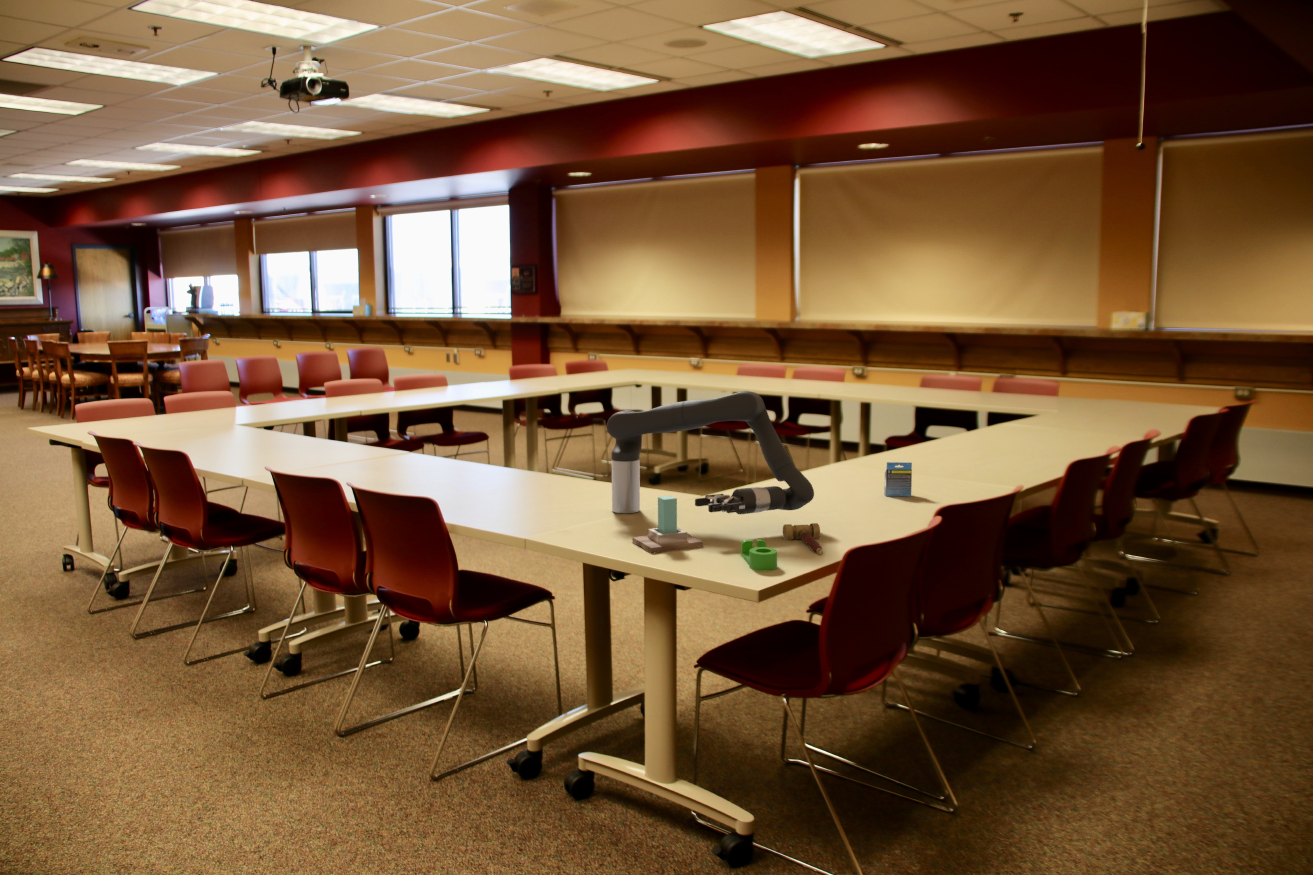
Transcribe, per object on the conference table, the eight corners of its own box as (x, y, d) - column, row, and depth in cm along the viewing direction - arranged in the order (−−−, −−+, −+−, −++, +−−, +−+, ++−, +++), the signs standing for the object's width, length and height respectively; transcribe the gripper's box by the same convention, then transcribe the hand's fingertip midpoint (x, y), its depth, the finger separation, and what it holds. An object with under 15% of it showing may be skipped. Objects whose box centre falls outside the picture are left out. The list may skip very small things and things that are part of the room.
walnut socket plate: (632, 542, 258) (632, 528, 258) (682, 536, 265) (682, 522, 264) (651, 553, 246) (651, 538, 246) (703, 546, 253) (703, 532, 252)
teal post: (658, 538, 256) (657, 497, 255) (670, 536, 258) (670, 495, 256) (664, 541, 253) (663, 499, 251) (676, 539, 254) (676, 498, 253)
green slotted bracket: (780, 571, 230) (780, 553, 229) (752, 572, 229) (753, 554, 228) (765, 555, 245) (765, 538, 244) (739, 556, 244) (740, 539, 243)
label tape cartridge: (909, 494, 321) (910, 460, 320) (911, 497, 318) (912, 462, 316) (883, 494, 322) (884, 460, 321) (885, 496, 318) (886, 462, 317)
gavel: (839, 544, 243) (803, 545, 242) (838, 560, 244) (802, 561, 243) (815, 521, 264) (782, 522, 263) (815, 536, 265) (782, 537, 264)
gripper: (739, 483, 271) (691, 488, 265) (763, 492, 258) (713, 497, 252) (739, 508, 272) (691, 513, 266) (763, 517, 260) (713, 523, 253)
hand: (702, 505), depth 259 cm, fingers open, 8 cm apart
